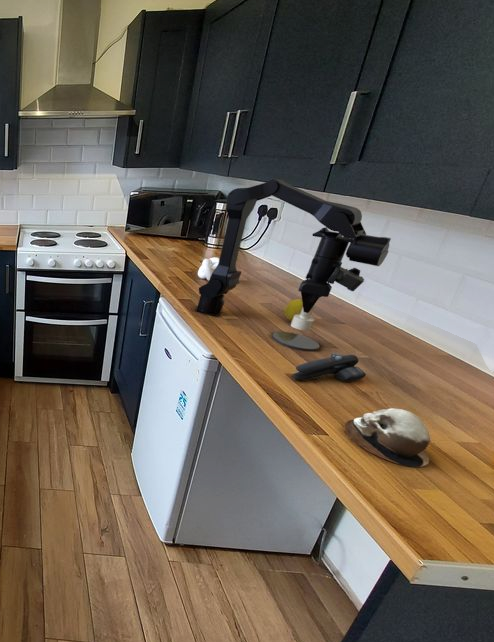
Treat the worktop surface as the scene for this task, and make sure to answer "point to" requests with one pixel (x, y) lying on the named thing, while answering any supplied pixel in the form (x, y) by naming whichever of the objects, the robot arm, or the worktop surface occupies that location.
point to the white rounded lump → (208, 268)
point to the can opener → (331, 368)
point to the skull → (392, 436)
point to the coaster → (295, 341)
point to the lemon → (293, 308)
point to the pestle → (303, 320)
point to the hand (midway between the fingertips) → (306, 311)
